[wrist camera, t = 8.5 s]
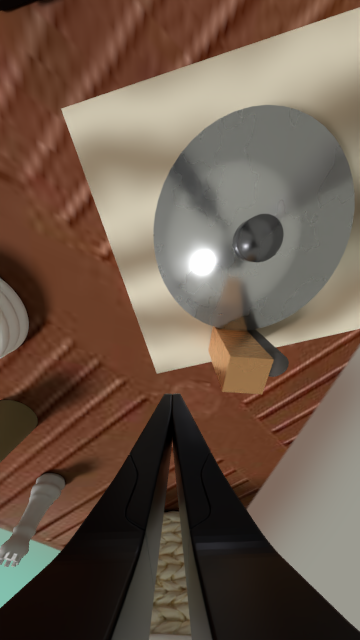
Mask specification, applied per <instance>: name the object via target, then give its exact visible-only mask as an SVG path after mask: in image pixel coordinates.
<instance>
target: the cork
mask: <svg viewBox="0 0 360 640" xmlns="http://www.w3.org/2000/svg"><path fill="white" fill-rule="evenodd" d="M37 424H38V419H37V417H36V414H35V413H34V412H33V411H32V410H31V409H30V408H29V407H27V406H26V405H24V404H22V403H20V402H17V401H12V400H1V401H0V462H1V461H2V460H3V459H4V458H5V457H6V456H7V455H8V454H9V453H10V452H11V451H12V450H13V449H14V448H15V447H16V446H17V445H18V444H19V443H20V442H21V441H22V440H24V439H25V438H26V437H27V436H28V435H29V434H30V433H31V432H32V431H33V430H34V429H35V427H36V426H37Z"/></svg>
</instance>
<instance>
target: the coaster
mask: <svg viewBox="0 0 360 640" xmlns="http://www.w3.org/2000/svg"><path fill="white" fill-rule="evenodd" d="M28 329H29V320H28V315H27V311H26V309H25V306H24V304H23V303H22V301H21V299H20V298H19V296H18V295H17V294H16V292H15V291H14V290H13V289H12V288H11V287H10V286H9V285H8V284H7V283H6V282H5V281H3V280H2V279H1V278H0V358H2V357H4V356H5V355H7V354H8V353H10V352H12V351H14V350H16V349H17V348H18V347H19V346H20V345H21V344H22V343H23V341H24V340H25V339H26V336H27V334H28Z"/></svg>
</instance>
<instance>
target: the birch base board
mask: <svg viewBox="0 0 360 640" xmlns="http://www.w3.org/2000/svg"><path fill="white" fill-rule="evenodd" d="M261 105H277V106H285V107H289V108H293V109H297V110H299V111H301V112H303V113H306V114H308V115H310V116H312V117H313V118H314V119H316V120H317V121H318V122H320V123H321V124H323V125H324V126H325V127H326V128H327V129H328V131H329V132H330V133H331V134H332V135H333V136H334V137H335V139H336V140H337V142H338V143H339V145H340V146H341V148H342V150H343V152H344V154H345V156H346V159H347V161H348V163H349V167H350V170H351V174H352V178H353V185H354V193H355V209H354V217H353V224H352V229H351V233H350V237H349V240H348V243H347V246H346V249H345V252H344V254H343V256H342V258H341V260H340V262H339V264H338V266H337V268H336V269H335V271H334V273H333V274H332V276H331V277H330V279H329V280H328V282H327V283H326V284H325V286H324V287H323V288H322V289H321V290H320V291H319V292H318V294H317V295H316V296H315V297H314V298H313V299H312V300H311V301H309V302H308V303H307V304H306V305H305V306H304V307H302V308H301V309H300V310H298V311H297V312H296V313H294V314H292V315H291V316H289V317H287V318H285V319H283V320H281V321H279V322H277V323H275V324H272V325H269V326H266V327H262V328H258V329H253V330H247V331H248V332H249V334H250V335H251V336H252V337H253V338H254V339H255V340H256V341H257V342H258V343H259V344H260V345H261V346H262V347H263V348H264V349H265V351H266V352H267V353H268V354H269V355H270V356H271V357H272V358H273V359H274V361H273V364H272V367H271V370H270V373H269V375H268V376H271V377H274V376H278V375H280V374H282V373H284V372H285V371H286V369H287V367H288V364H289V362H288V359H287V358H286V357H285V356H284V355H283V354H282V353H281V352H280V351H279V350H278V349H277V348H276V347H279V346H284V345H288V344H293V343H297V342H302V341H306V340H311V339H315V338H320V337H324V336H329V335H333V334H338V333H343V332H347V331H352V330H356V329H360V8H357V9H354V10H351V11H348V12H345V13H342V14H339V15H336V16H333V17H330V18H327V19H324V20H321V21H318V22H315V23H313V24H310V25H307V26H304V27H301V28H298V29H295V30H292V31H289V32H286V33H283V34H280V35H277V36H274V37H271V38H268V39H265V40H262V41H259V42H257V43H254V44H251V45H248V46H245V47H242V48H239V49H236V50H233V51H230V52H227V53H224V54H221V55H218V56H215V57H212V58H209V59H206V60H203V61H201V62H198V63H195V64H192V65H189V66H186V67H183V68H180V69H177V70H174V71H171V72H168V73H165V74H162V75H159V76H156V77H153V78H150V79H148V80H145V81H142V82H139V83H136V84H133V85H130V86H127V87H124V88H121V89H118V90H115V91H112V92H109V93H106V94H103V95H100V96H97V97H94V98H92V99H89V100H86V101H83V102H80V103H77V104H74V105H71V106H68V107H65V108H62V109H61V110H62V112H63V115H64V118H65V121H66V123H67V126H68V129H69V132H70V135H71V137H72V140H73V143H74V146H75V148H76V151H77V154H78V157H79V159H80V162H81V165H82V168H83V170H84V173H85V176H86V179H87V181H88V184H89V187H90V190H91V193H92V195H93V198H94V201H95V204H96V206H97V209H98V212H99V215H100V217H101V220H102V223H103V226H104V228H105V231H106V234H107V237H108V239H109V242H110V245H111V248H112V251H113V253H114V256H115V259H116V262H117V264H118V267H119V270H120V273H121V275H122V278H123V281H124V284H125V286H126V289H127V292H128V295H129V297H130V300H131V303H132V306H133V309H134V311H135V314H136V317H137V320H138V322H139V325H140V328H141V331H142V333H143V336H144V339H145V342H146V344H147V347H148V350H149V353H150V355H151V358H152V361H153V364H154V367H155V369H156V372H157V373H161V372H166V371H170V370H175V369H180V368H184V367H189V366H193V365H198V364H202V363H207V362H211V361H212V360H211V357H210V354H209V351H208V349H209V344H210V338H211V333H212V327H213V326H210V325H208V324H206V323H203V322H201V321H199V320H198V319H196V318H194V317H193V316H191V315H190V314H189V313H188V312H186V311H185V310H184V309H183V308H182V307H181V306H180V305H179V304H178V303H177V302H176V301H175V299H174V298H173V297H172V295H171V294H170V293H169V291H168V289H167V287H166V285H165V284H164V282H163V279H162V277H161V274H160V272H159V269H158V265H157V261H156V257H155V250H154V233H153V229H154V219H155V212H156V207H157V203H158V198H159V196H160V193H161V190H162V187H163V184H164V182H165V180H166V178H167V176H168V174H169V172H170V169H171V168H172V166H173V165H174V163H175V161H176V160H177V158H178V157H179V155H180V154H181V153H182V151H183V150H184V149H185V148H186V147H187V145H188V144H189V143H190V142H191V141H192V140H193V139H194V138H195V137H196V136H197V135H198V134H199V133H200V132H202V131H203V130H204V129H205V128H206V127H208V126H209V125H211V124H212V123H214V122H215V121H217V120H218V119H220V118H222V117H224V116H226V115H228V114H230V113H232V112H234V111H238V110H241V109H244V108H248V107H252V106H261Z"/></svg>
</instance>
